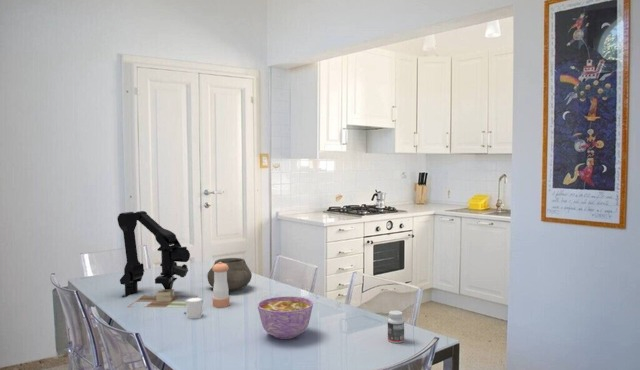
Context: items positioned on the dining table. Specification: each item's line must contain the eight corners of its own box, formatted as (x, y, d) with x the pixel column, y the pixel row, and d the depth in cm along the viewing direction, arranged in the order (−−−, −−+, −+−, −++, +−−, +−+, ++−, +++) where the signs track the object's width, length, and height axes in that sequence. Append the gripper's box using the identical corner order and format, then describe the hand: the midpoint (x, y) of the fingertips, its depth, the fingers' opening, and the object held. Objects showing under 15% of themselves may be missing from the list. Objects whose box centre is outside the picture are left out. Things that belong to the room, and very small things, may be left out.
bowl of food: (284, 322, 199) (284, 293, 198) (324, 333, 186) (324, 301, 186) (246, 337, 183) (245, 305, 183) (287, 349, 171) (286, 315, 170)
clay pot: (200, 289, 253) (199, 259, 252) (238, 282, 266) (238, 254, 265) (220, 298, 235) (219, 266, 235) (260, 290, 248) (259, 260, 248)
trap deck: (143, 299, 237) (143, 295, 236) (198, 299, 235) (197, 295, 235) (126, 310, 219) (126, 307, 218) (185, 310, 217) (185, 307, 217)
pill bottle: (386, 338, 180) (385, 310, 180) (402, 337, 181) (401, 309, 180) (389, 343, 175) (389, 315, 174) (406, 343, 175) (405, 314, 175)
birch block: (161, 298, 232) (161, 289, 232) (174, 298, 232) (174, 289, 232) (156, 301, 226) (156, 292, 226) (169, 301, 226) (169, 292, 226)
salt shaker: (225, 308, 220) (224, 263, 219) (210, 307, 222) (208, 263, 221) (232, 303, 227) (231, 260, 226) (216, 302, 229) (215, 260, 228)
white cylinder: (198, 319, 205) (198, 302, 205) (182, 318, 206) (182, 301, 206) (206, 314, 212) (205, 297, 211) (190, 313, 213) (190, 296, 213)
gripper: (179, 264, 223) (180, 300, 224) (191, 256, 242) (192, 289, 243) (153, 265, 224) (155, 300, 225) (168, 256, 242) (169, 289, 243)
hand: (169, 294), depth 234 cm, fingers closed
